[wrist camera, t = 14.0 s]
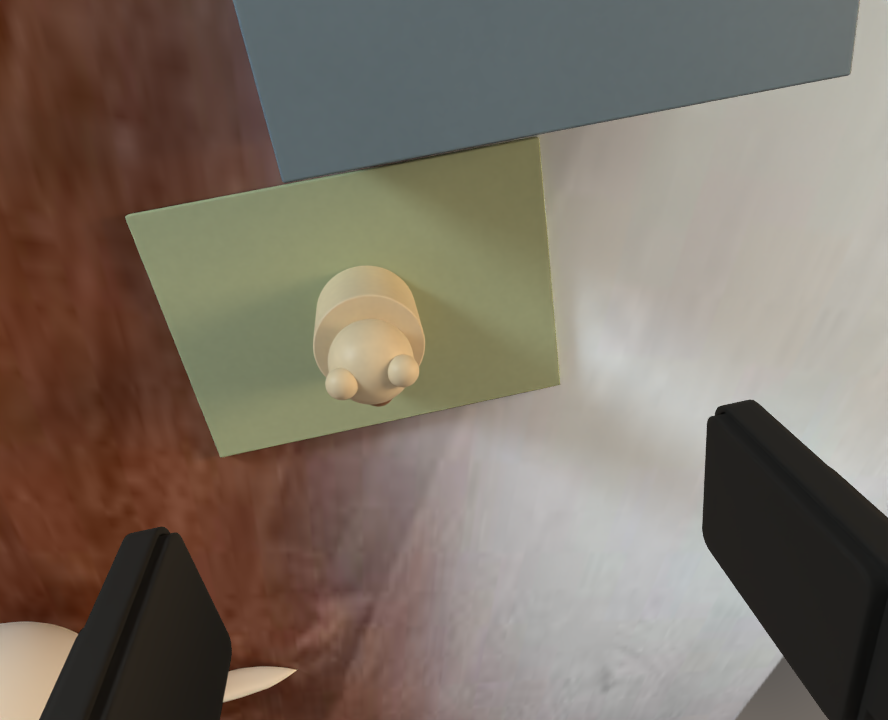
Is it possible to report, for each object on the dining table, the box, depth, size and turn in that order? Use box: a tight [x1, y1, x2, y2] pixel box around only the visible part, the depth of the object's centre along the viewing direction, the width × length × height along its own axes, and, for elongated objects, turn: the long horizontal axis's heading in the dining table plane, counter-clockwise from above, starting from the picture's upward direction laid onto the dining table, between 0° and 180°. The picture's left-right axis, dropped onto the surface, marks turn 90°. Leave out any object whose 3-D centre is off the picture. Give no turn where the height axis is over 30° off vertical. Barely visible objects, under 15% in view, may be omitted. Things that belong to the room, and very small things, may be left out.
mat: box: [125, 137, 560, 457], centre depth 33 cm, size 20×14×1 cm
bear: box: [313, 265, 425, 407], centre depth 30 cm, size 5×6×8 cm
